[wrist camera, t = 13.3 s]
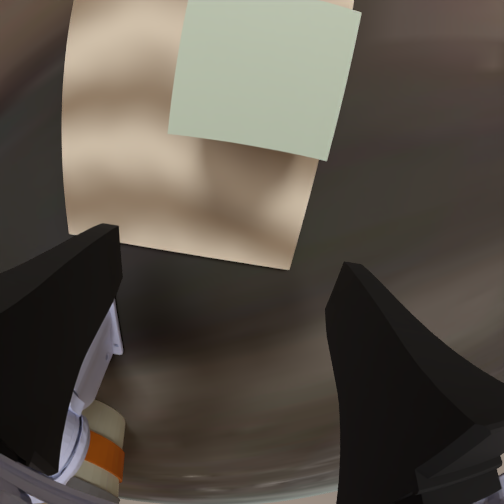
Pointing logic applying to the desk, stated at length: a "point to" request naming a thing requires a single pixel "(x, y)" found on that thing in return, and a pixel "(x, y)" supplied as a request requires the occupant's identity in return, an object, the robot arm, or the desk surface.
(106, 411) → the reusable coffee cup
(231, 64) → the sage block
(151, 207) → the baseplate
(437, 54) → the desk surface
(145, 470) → the desk surface
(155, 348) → the desk surface
